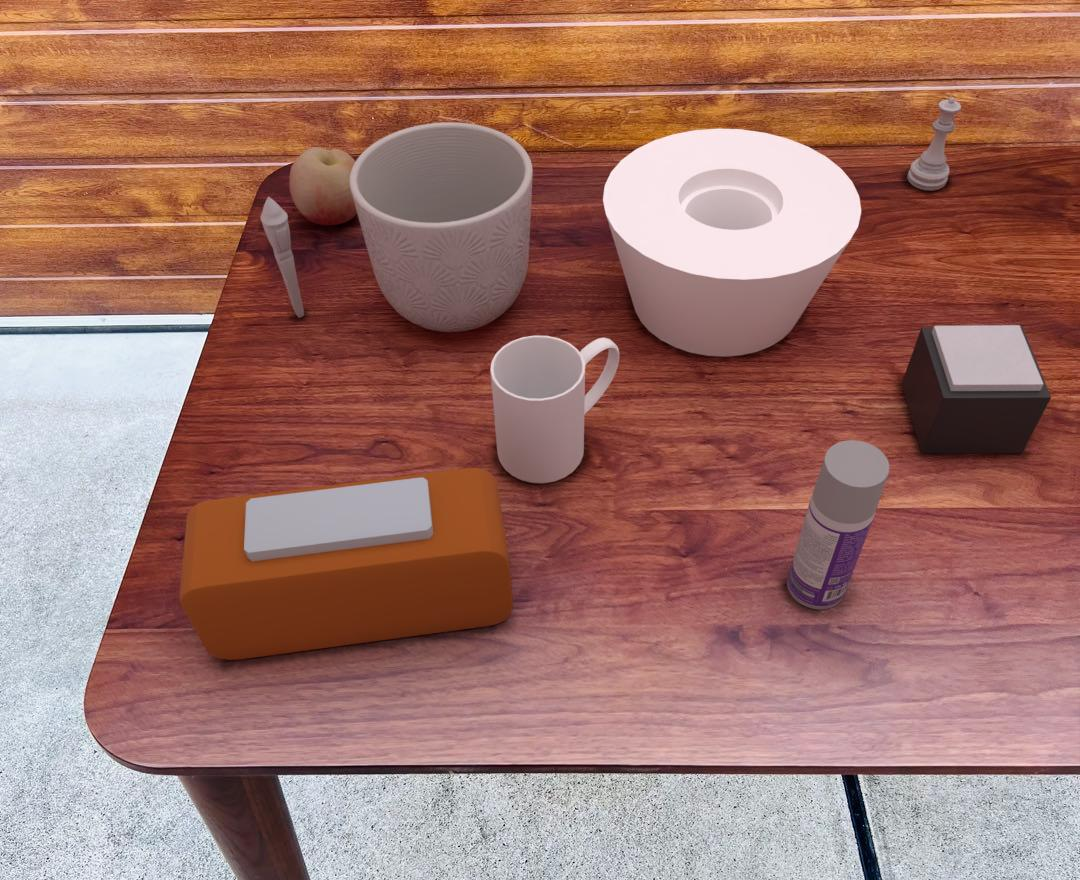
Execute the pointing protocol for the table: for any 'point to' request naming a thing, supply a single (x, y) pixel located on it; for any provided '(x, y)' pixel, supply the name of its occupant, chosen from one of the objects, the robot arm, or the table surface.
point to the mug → (544, 404)
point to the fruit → (323, 186)
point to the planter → (446, 222)
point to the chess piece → (935, 151)
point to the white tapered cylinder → (727, 235)
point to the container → (837, 523)
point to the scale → (974, 389)
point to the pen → (282, 249)
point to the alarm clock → (346, 564)
